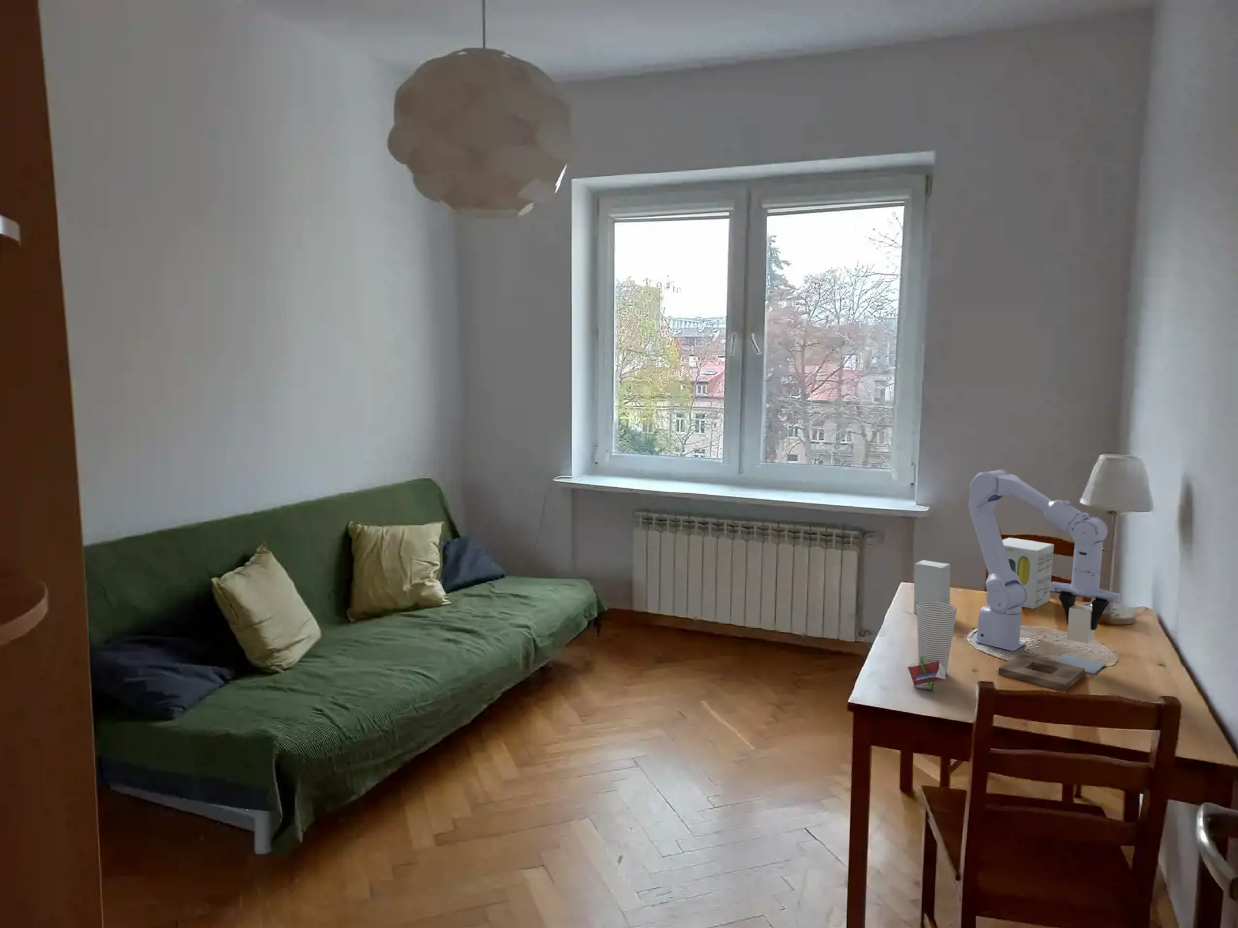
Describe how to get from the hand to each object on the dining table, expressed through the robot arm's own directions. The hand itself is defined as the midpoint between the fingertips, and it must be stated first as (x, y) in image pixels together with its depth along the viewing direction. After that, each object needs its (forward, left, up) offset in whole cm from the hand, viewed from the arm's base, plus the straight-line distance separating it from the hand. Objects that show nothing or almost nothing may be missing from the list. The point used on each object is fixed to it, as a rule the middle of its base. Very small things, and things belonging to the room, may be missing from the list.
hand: (1081, 626), depth 198 cm
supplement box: (-30, +47, -10) cm, 57 cm away
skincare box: (-42, +13, -10) cm, 45 cm away
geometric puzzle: (-19, -40, -10) cm, 45 cm away
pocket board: (-4, -13, -9) cm, 16 cm away
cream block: (0, 0, -3) cm, 3 cm away
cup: (-22, -30, -10) cm, 38 cm away
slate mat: (0, 0, -9) cm, 9 cm away
